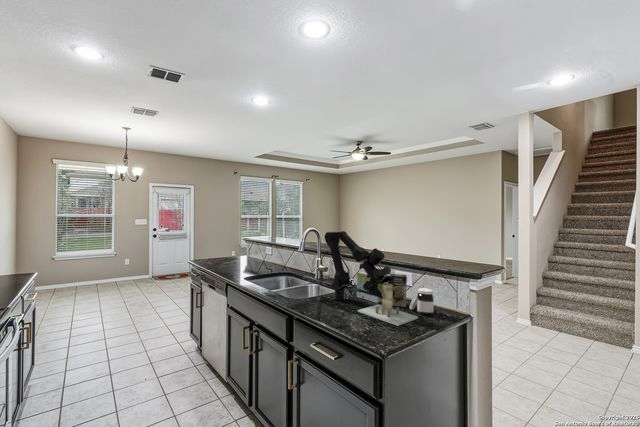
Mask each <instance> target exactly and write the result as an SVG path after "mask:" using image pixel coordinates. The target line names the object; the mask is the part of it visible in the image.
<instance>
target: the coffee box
mask: <svg viewBox="0 0 640 427" xmlns="http://www.w3.org/2000/svg"><path fill="white" fill-rule="evenodd" d="M389 275H392V276H393V277H394V278H395V279H394V281H393V284H392V285H393V289H394V293H395V296H393V302H392V307H393V306H395V307H404V308H405V307H407V285H408V284H407V283H408V282H407V281H408V280H407V279H408V277H407V274H398V273H396V274H395V273H390V274H389Z"/></svg>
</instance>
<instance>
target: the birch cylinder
mask: <svg viewBox="0 0 640 427" xmlns="http://www.w3.org/2000/svg"><path fill="white" fill-rule="evenodd" d="M382 296H383V299H382V302H381V305H382V314H384V315H387V310H390V315H392V309H393V306H392V302H393V285H392V284H388V283H385V284H382Z"/></svg>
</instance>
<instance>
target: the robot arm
mask: <svg viewBox="0 0 640 427" xmlns="http://www.w3.org/2000/svg"><path fill="white" fill-rule="evenodd" d="M324 240H325V243H326V245H327V246H328V247H329V249H330V253H331V257H332V261H333V266H334V270H335V273H334V276H333V278H334V281H333V282H332V283H331V284H330V287H331V290H334V297H333V301H342V302H344V301H345V300H346V298H347V297H346V296H345V294H346V293H345V291H346V289H349V286H350V283H351V277H350V273H349V272H348V271H345V269H344V264H343V260H342V255H341V250H340V248H339V245H340V241H341V242H342V243H343V244H344V245H345V246H346V247H347V249H348V250H350V252H351V256H352V258H354V260H355V261H356V262H357V263H358V262H361V263H359V266H358V268H359V270H361V269H363V270H364V271H365V272H366V273H367V278H370V279H368V280H367V281H366V282H365V283H364V284H363V288H364V289H365V290H367V291H369V292H371V293H373V294H374V295H376V296H377V297H379V298H380V299H383V296H382V294H381V292H380V290H379V289H378V284H385V283H388V284H393V281H394V279H395V278H394V277H393V276H392V275H390V274H391V271H392V269H391V267H389V266H388V265H387V266H384V267H383V268H377V267H376V266H378V265H379V264H380V263H381V262H382V261H383V260H384V259H385V258H386V257H385V253H384V252H383V251H381V250H379V249H378V248H373V249H372V250H371V252H369V251H368V250H367V249H365V248H364V247H361V246H359V244H358V243H356V242H355V240H353V239H352V237H350V236H349V235H348V234H347V232H346V231H344V230H339V231H327V232H325V234H324ZM385 275H388V276H386V277H385ZM384 277H385V278H384ZM383 278H384V279H383ZM393 296H395V293H394V289H393ZM345 302H346V301H345Z"/></svg>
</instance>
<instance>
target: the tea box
mask: <svg viewBox="0 0 640 427" xmlns="http://www.w3.org/2000/svg"><path fill="white" fill-rule="evenodd" d="M386 276H389V274H387V275H385V277H386ZM385 277H384V278H385ZM384 278H383V279H384ZM368 279H370V278H367V273H366V272H365V270H364V271H360V272H356V297H357V298H358V299H359V298H360V299H363V300H366V301H369V302H373V303H376V304H378V303H382V299H380V298H379V297H377V296H376V295H374V294H373V293H371V292H369V291H367V290H365V289H364V288H363V284H364V283H365V282H366V281H367V280H368ZM378 289H379V290H380V292H381V294H382V284H378Z"/></svg>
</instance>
